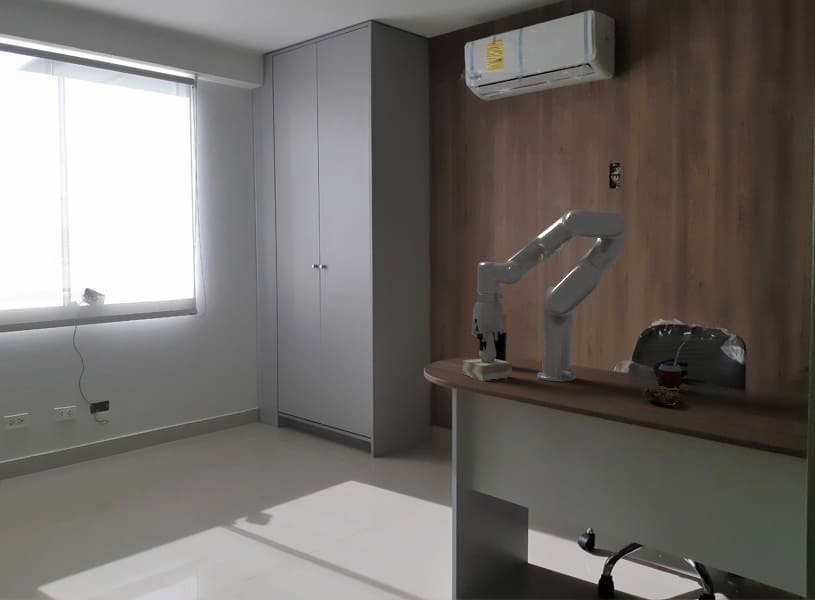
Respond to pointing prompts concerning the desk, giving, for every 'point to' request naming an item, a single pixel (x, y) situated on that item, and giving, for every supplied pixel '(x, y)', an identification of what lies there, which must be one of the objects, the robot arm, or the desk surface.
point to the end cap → (672, 361)
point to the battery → (502, 341)
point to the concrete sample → (661, 395)
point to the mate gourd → (670, 373)
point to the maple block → (486, 369)
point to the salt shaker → (488, 349)
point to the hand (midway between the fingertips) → (487, 351)
